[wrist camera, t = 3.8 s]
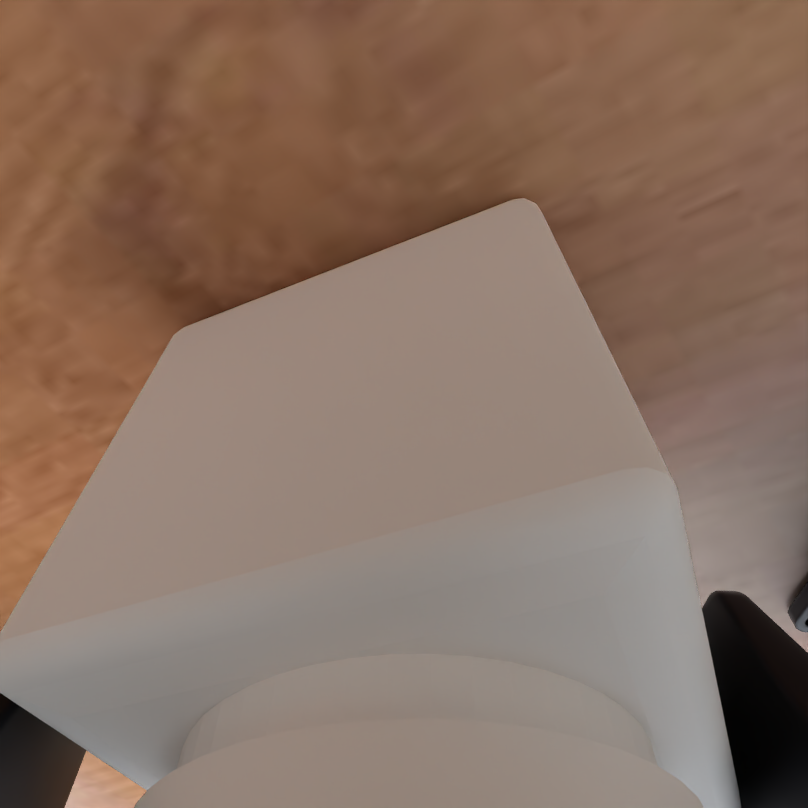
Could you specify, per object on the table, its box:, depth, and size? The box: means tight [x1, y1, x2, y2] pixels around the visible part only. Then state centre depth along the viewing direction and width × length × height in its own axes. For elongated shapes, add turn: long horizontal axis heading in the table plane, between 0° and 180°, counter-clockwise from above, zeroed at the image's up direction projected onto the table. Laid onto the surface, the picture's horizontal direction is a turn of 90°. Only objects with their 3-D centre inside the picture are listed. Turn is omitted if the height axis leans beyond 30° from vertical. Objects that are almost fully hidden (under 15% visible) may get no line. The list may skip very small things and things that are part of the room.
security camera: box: [0, 198, 741, 808], centre depth 8 cm, size 7×7×12 cm
